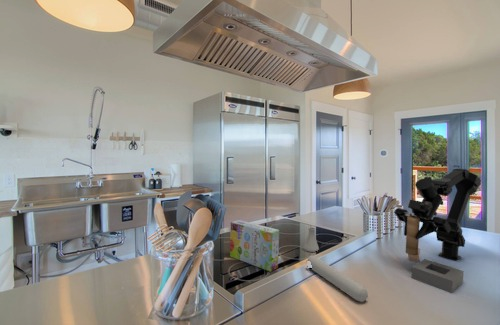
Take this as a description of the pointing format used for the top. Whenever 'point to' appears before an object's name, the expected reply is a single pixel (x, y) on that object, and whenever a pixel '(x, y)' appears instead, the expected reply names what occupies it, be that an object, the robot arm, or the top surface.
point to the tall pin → (412, 235)
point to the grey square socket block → (437, 275)
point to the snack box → (254, 244)
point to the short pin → (414, 257)
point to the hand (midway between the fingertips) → (410, 236)
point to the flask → (311, 241)
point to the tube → (339, 279)
